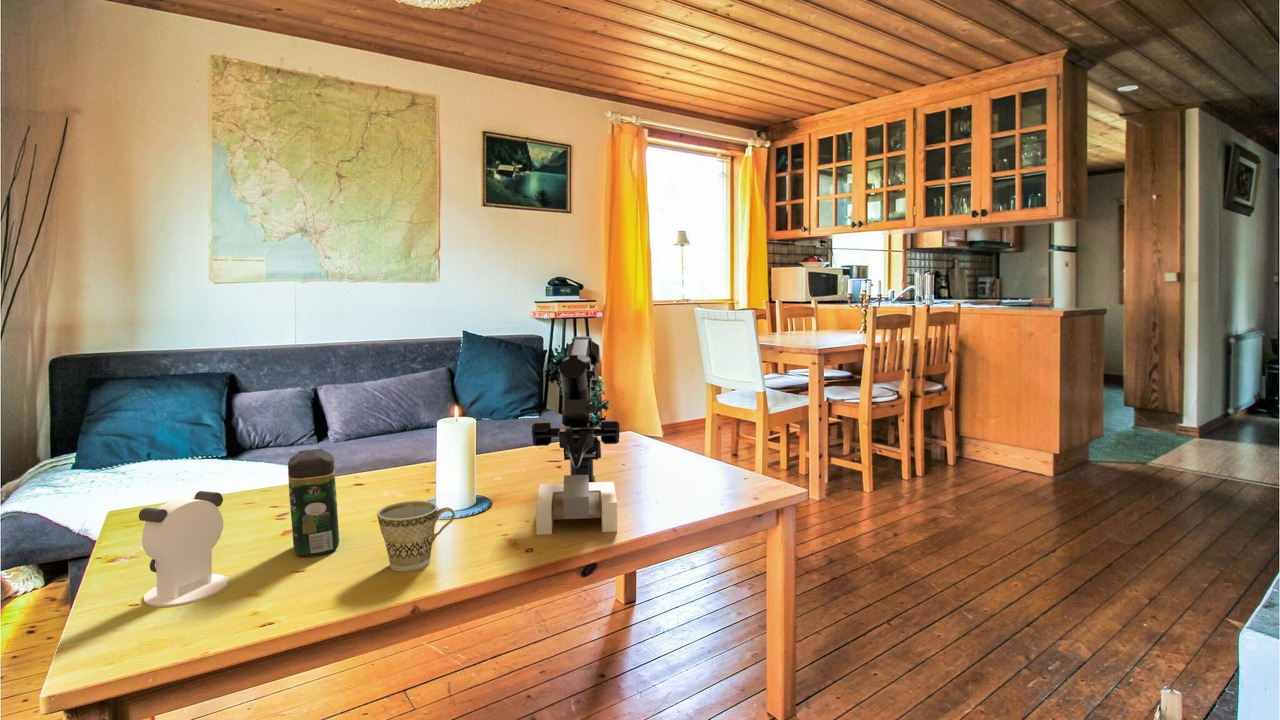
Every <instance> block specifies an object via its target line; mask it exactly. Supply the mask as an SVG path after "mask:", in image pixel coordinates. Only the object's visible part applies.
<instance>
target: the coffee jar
mask: <svg viewBox="0 0 1280 720" xmlns="http://www.w3.org/2000/svg"><path fill="white" fill-rule="evenodd" d="M287 463H288V464H287V469H288V470H287V471H288V472H287V473H288V474H287V475H288V476H287V477H288V492H289V494H288V497H289V508H290V518H291V531H292V543H293V551H294V553H295V554H296V556H300V557H301V556H302V557H303V556H304V557H305V556H306V557H317V556H321V555H324V554H326V553H329V552H333V551H335V550H336V549H338V547H339V545H340V544H339V543H340V530H339V519H338V518H339V517H338V501H337V500H338V499H337V489H336V488H337V485H336V472H335V471H336V470H335V457H334V456H333V455H332V453H331V452H328V451H326V450H324V449H323V448H316V449H307V450H299V451H298V452H297V453H296V454H294V455H293V456H291V457H290V458H289V460H288V462H287Z"/></svg>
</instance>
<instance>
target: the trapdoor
mask: <svg viewBox="0 0 1280 720" xmlns="http://www.w3.org/2000/svg"><path fill="white" fill-rule="evenodd" d="M553 518H554V519H555V520H565V519H564V510H563V492H560V493H555V498H554V515H553ZM588 519H601V518H600V503H599V491H589V518H588Z"/></svg>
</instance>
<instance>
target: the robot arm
mask: <svg viewBox="0 0 1280 720" xmlns="http://www.w3.org/2000/svg"><path fill="white" fill-rule="evenodd" d="M600 363H601V351H600V345H599V344H598V343H597V342H594V341H593V339H592V337H590V336H574V337H572V339H571V342H570V343H569V344H568V345H567V357H565V358H564V359H563V361H562V362H561V363H560V365H559V369H558V370H557V371H558V372H557V374H558V380H560V384H561V388H562V390H563V391H562V392H563V393H562V396H563V397H562V401H563V402H562V413H561V416H562V417H561V418H562V419H561V422H562V423H561V424H562V425H559V426H558V427H552V424H551V423H552V422H551V421H534V422H533V423H532V425H531V437H532V443H533V446H536V447H539V446H540V447H543V446H544V447H545V446H547V447H548V446H549V445H551V444H552V442H553V441H552V439H554V438H555V439H556V438H557V439H558V442H559V445H558V446H559V448H561V449H563V459H564V461H570V462H569V463H570V465H569V466H570V468H569V469H570V471H569V472H570V475H589V482H596V476H595V475H594V460H595V461H598V460H599V459H601V458H602V448H601V444H602V443H603V445H617V444H619V443H620V432H621V431H620V422H619V421H618V420H617V419H611V420H610V419H609V420H601V421H600V426H595V425H594V422H593V420H591V414H596V412H597V402H596V397H595V396H594V397H593V396H591V395H592V394H591V393H592V380H593V381H594V379H595V376H596V374H597V373H598V364H600ZM599 437H600V438H599ZM599 439H600V440H599Z"/></svg>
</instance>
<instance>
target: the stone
mask: <svg viewBox="0 0 1280 720" xmlns="http://www.w3.org/2000/svg"><path fill="white" fill-rule="evenodd" d="M563 483H564V488H563V510H564V519H563V520H576V519H578V520H579V519H590V518H589V475H571V474H570V475H568V474H567V475H566V474H565V475H563Z"/></svg>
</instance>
